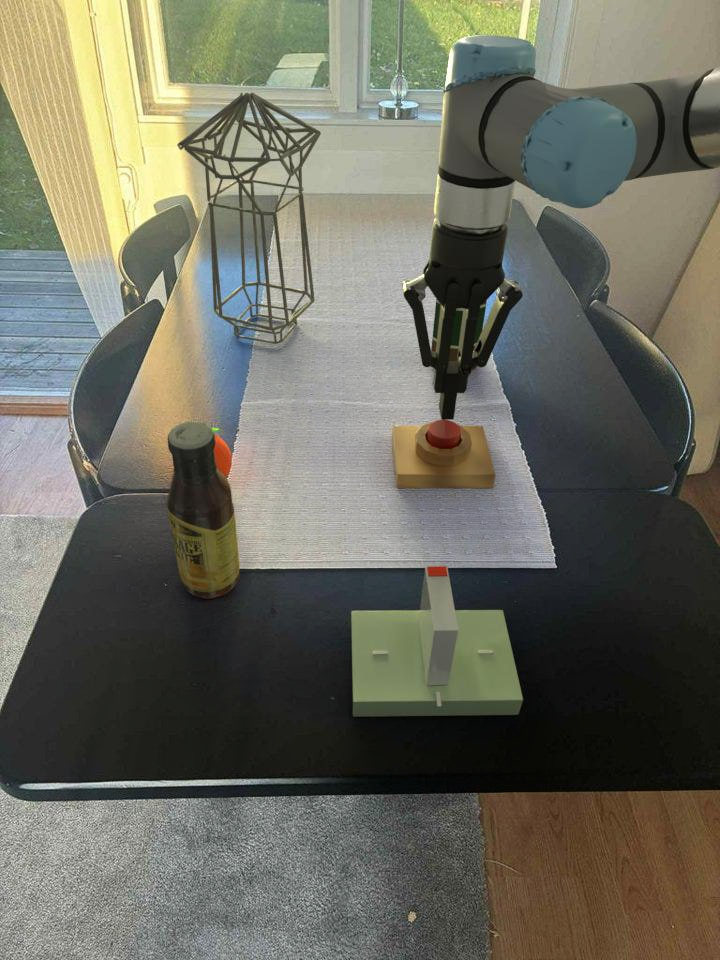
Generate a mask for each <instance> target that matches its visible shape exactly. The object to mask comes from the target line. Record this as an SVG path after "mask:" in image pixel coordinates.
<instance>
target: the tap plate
mask: <svg viewBox="0 0 720 960" xmlns="http://www.w3.org/2000/svg"><path fill="white" fill-rule="evenodd" d="M419 613H420V610H351V611H350V651H351V652H350V653H351V657H350V659H351V701H352V702H351V704H352V705H351V706H352V709H351V710H352V717H354V718H359V717H364V718H366V717H370V718H371V717H441V716H442V717H443V716H445V717H446V716H448V717H449V716H451V717H452V716H456V717H457V716H515V715H516V716H518V715H519V714H520V711H521V708H522V705H523V702H524V698H523V693H522V689H521V685H520V680H519V675H518V671H517V665H516V662H515V658H514V653H513V649H512V645H511V644H512V643H511V640H510V635H509V632H508V628H507V622H506V618H505V617H506V616H505V614H504V613H505V612H504V610H503V609H457V610H456V609H455V613H456V619H457V625H458V635H457V640H456V646H455V651H454V657H453V662H452V667H451V673H450V678H449V684H448V685H426V680H425V672H424V664H423V656H422V648H421V640H420V632H419V624H418V621H419Z"/></svg>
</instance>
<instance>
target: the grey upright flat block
mask: <svg viewBox="0 0 720 960" xmlns="http://www.w3.org/2000/svg"><path fill="white" fill-rule="evenodd" d="M455 610H456V608H455V603H454V597H453V591H452V586H451V580H450V574H449V568H448V566H446V565H439V566H437V565H435V566H434V565H430V566H425V567H424V574H423V582H422V590H421V597H420V605H419V611H420V613H419V621H418V624H419V632H420V640H421V648H422V656H423V664H424V672H425V680H426V685H448V684H449V678H450V673H451V667H452V662H453V657H454V651H455V646H456V640H457V635H458V625H457V619H456V613H455Z"/></svg>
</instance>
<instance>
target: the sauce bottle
mask: <svg viewBox="0 0 720 960" xmlns="http://www.w3.org/2000/svg"><path fill="white" fill-rule="evenodd" d="M212 428H213V427H212V426H210V425H209V424H207V423H205V422H203V421H199V420H196V421H193V420H189V421H184V422H181V423H178V424H176V425H174V426H173V427H172V428H171V429H170V430H169V432H168V435H167V447H168V451H169V453H170V454H171V458H172V465H173V464H174V466H173V475H172V479H171V482H170V487H169V490H168V494H167V498H166V503H165V504H166V510H167V514H168V515H167V517H168V520H169V526H170V532H171V537H172V542H173V548H174V552H175V557H176V562H177V568H178V573H179V576H180V579H181V581H182V585H183V586H184V588H185V590H186V592H188V593H189V594H190V595H193V596H194V597H197V598H200V599H203V600H212V599H215V598H219V597H223V596H224V595H226V594H228V593H230V592H231V591H232V590H233V589H234V587H235V586H237V583H238V582H239V579H240V575H241V573H240V569H241V567H240V565H241V564H240V554H239V544H238V534H237V524H236V513H235V506H234V502H233V495H232V489H231V488H232V487H231V484H230V481H229V480H228V479H227V477H225V476H224V475H223V473H222V472H221V470H220V469H217V464H216V461H215V454H214V448H215V444H216V443H215V436H214V434H215V432H214V431H213V429H212Z"/></svg>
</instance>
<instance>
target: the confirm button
mask: <svg viewBox="0 0 720 960" xmlns="http://www.w3.org/2000/svg"><path fill="white" fill-rule="evenodd" d="M431 422H432V423H431ZM431 422H430V423H431V424H430V425H429V428H428V437H427V440H428V443H429V444H430V445H431V446H433V447H436V448H439V449H452V448H455V447H456V446H457V445H458V444H459V440H460V433H461V429H460V427H459V425H460V424H458V423H456V422H454V421H453V420H441V419H436V420H433V421H431Z"/></svg>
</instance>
